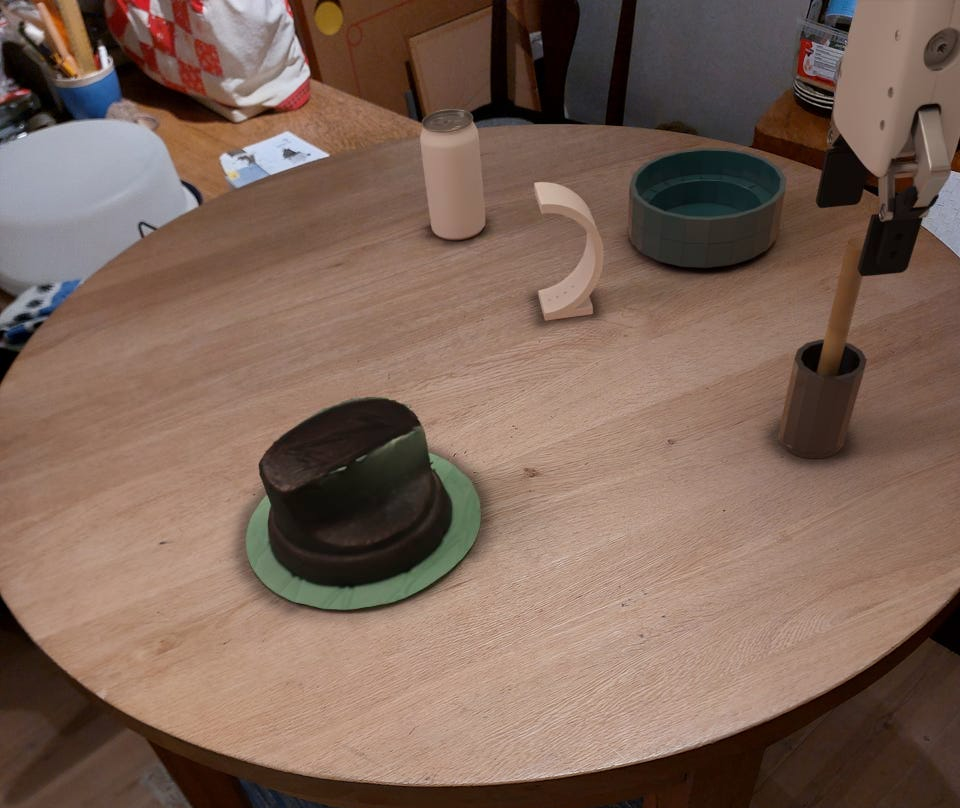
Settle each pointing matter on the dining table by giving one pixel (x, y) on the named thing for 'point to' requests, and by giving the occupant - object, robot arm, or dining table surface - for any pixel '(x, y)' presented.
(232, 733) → the dining table surface
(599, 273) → the headphone stand
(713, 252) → the bowl
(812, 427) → the utensil pot
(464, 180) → the can
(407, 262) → the dining table surface
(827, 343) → the stick
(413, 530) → the dark brown green hat
